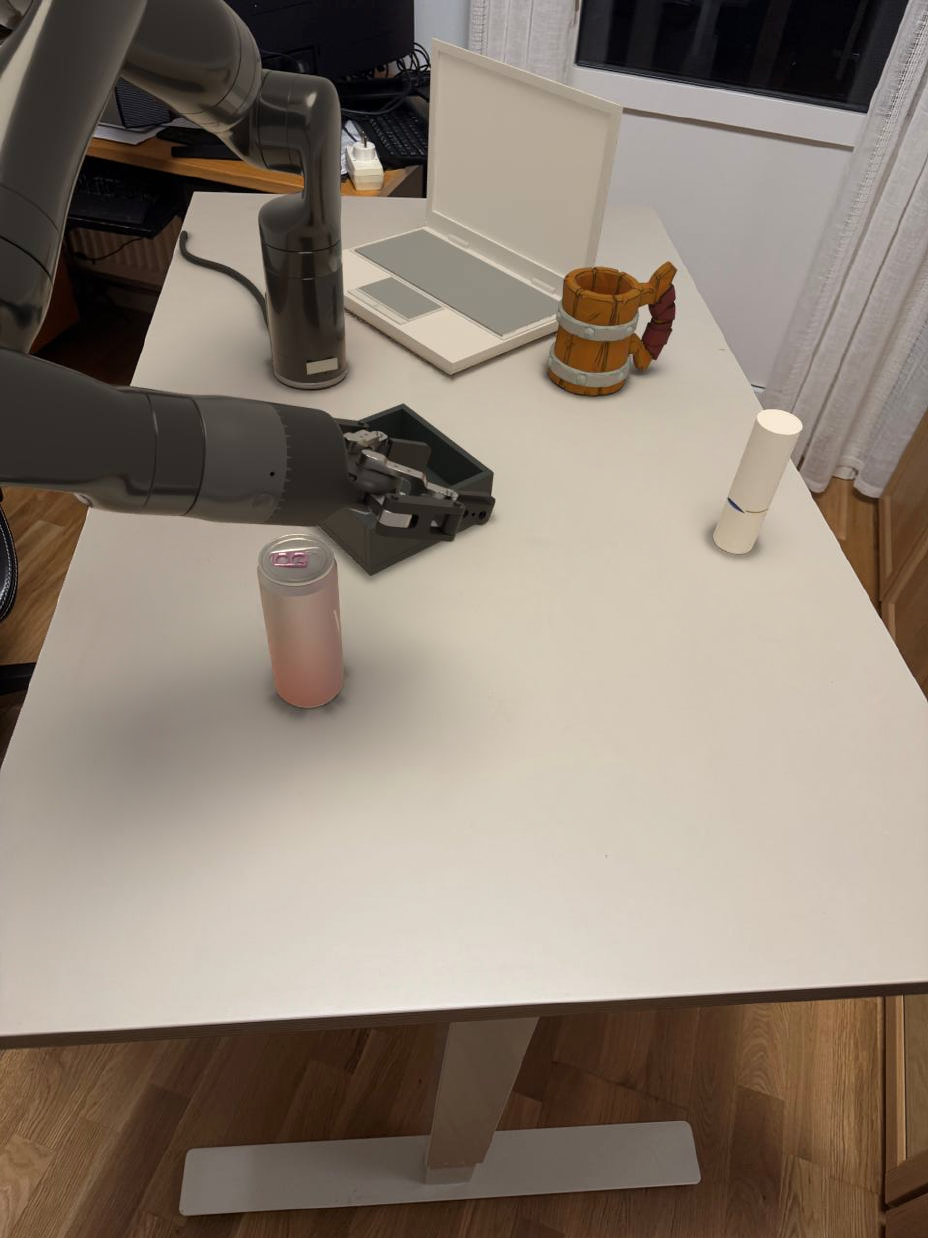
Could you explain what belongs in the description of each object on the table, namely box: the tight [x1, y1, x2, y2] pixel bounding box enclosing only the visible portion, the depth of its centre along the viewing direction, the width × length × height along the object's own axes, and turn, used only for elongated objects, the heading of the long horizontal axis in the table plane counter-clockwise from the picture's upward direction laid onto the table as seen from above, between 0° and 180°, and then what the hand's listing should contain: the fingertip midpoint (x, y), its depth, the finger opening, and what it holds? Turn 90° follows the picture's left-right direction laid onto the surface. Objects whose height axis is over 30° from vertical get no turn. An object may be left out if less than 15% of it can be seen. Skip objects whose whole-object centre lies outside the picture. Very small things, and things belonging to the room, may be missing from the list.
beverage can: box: [256, 532, 345, 709], centre depth 68 cm, size 6×6×15 cm
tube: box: [712, 408, 803, 555], centre depth 85 cm, size 4×4×15 cm
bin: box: [318, 403, 495, 576], centre depth 89 cm, size 16×16×6 cm
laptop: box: [342, 37, 624, 376], centre depth 114 cm, size 35×26×28 cm
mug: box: [546, 261, 678, 397], centre depth 108 cm, size 11×16×15 cm, turn 102°
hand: (456, 482), depth 62 cm, fingers open, 8 cm apart
